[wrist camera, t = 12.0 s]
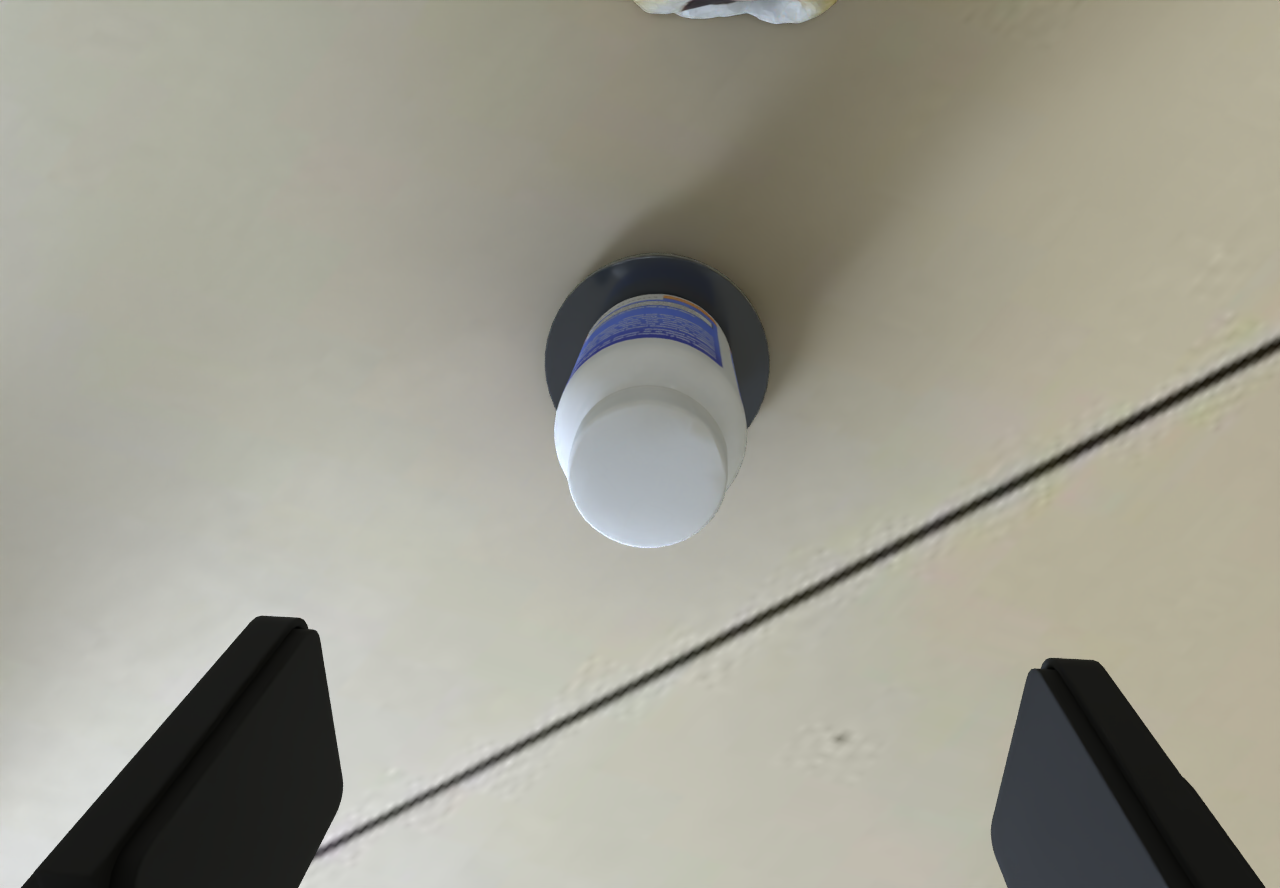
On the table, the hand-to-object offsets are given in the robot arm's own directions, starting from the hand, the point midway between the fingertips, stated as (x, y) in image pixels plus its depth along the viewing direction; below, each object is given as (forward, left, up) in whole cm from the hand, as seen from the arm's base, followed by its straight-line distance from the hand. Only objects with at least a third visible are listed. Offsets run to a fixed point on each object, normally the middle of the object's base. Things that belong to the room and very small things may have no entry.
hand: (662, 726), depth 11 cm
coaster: (+1, -1, -20) cm, 20 cm away
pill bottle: (+1, -1, -20) cm, 20 cm away
